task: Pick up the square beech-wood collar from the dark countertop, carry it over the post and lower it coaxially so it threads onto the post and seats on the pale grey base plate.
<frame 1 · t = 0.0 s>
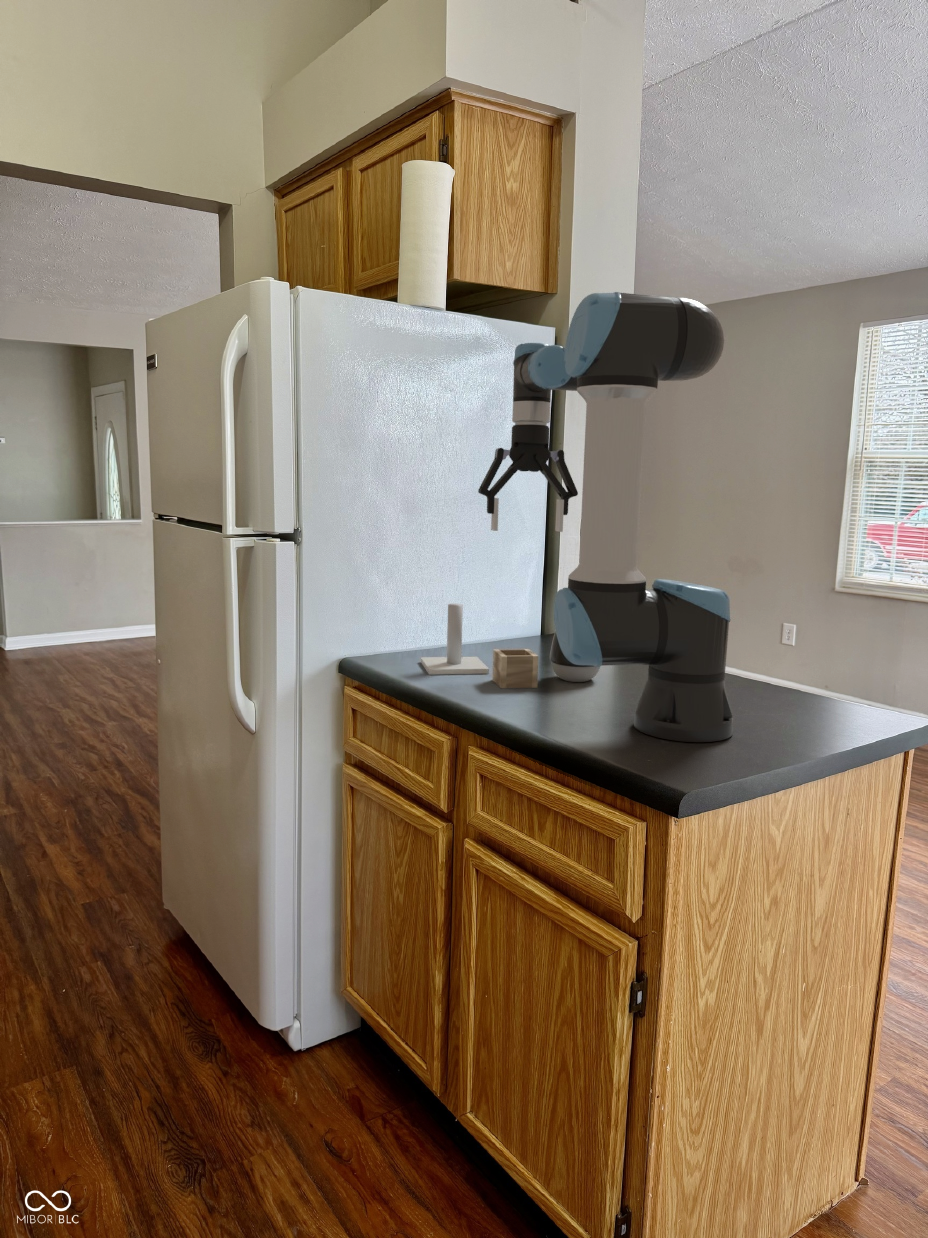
hand: (526, 531, 180), 28 cm above the counter, fingers open, 13 cm apart
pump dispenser: (575, 680, 173), on the counter
post fixture: (453, 667, 180), on the counter
collar: (514, 683, 167), on the counter
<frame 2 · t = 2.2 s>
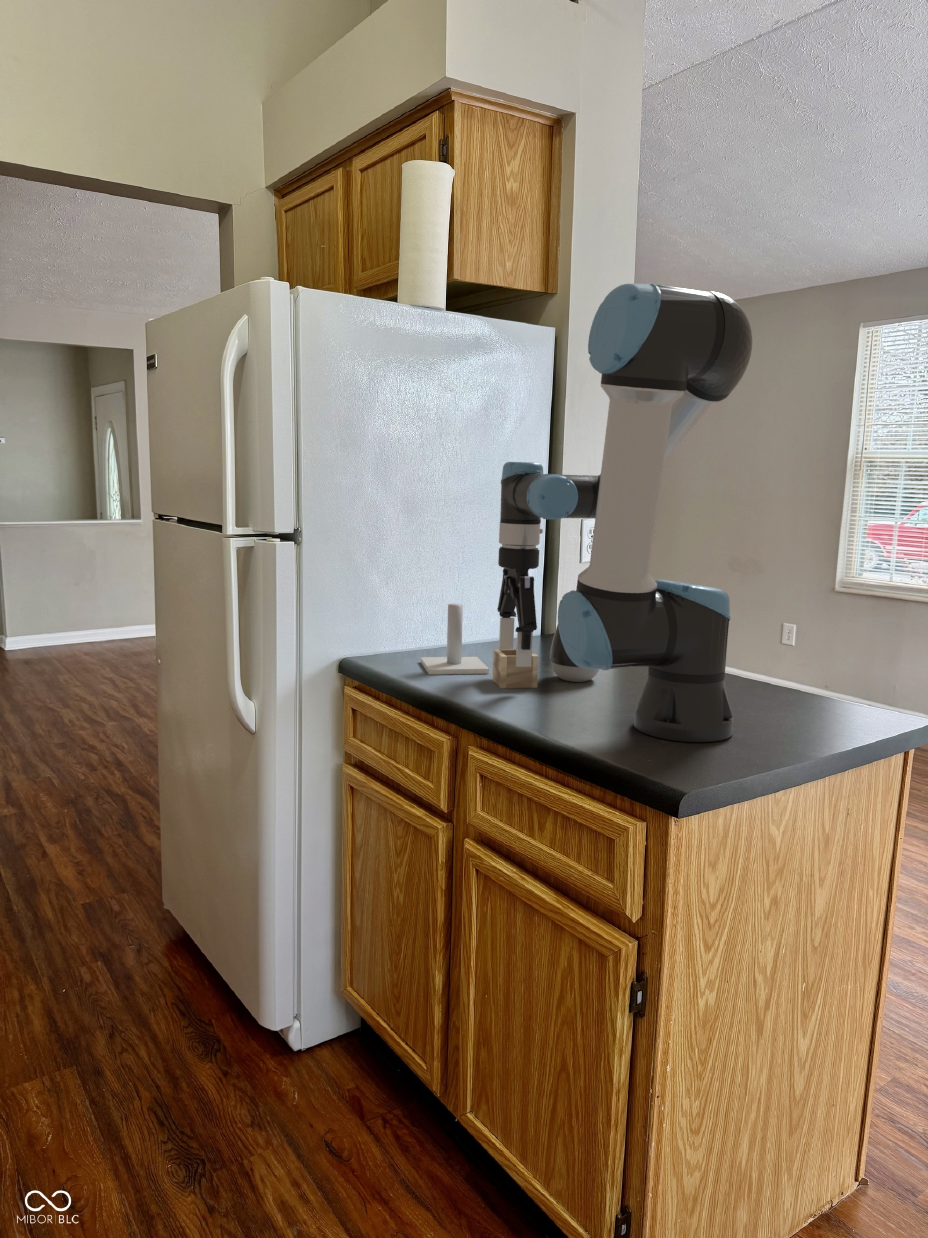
hand: (514, 658, 167), 5 cm above the counter, fingers open, 13 cm apart
nothing on the counter moved.
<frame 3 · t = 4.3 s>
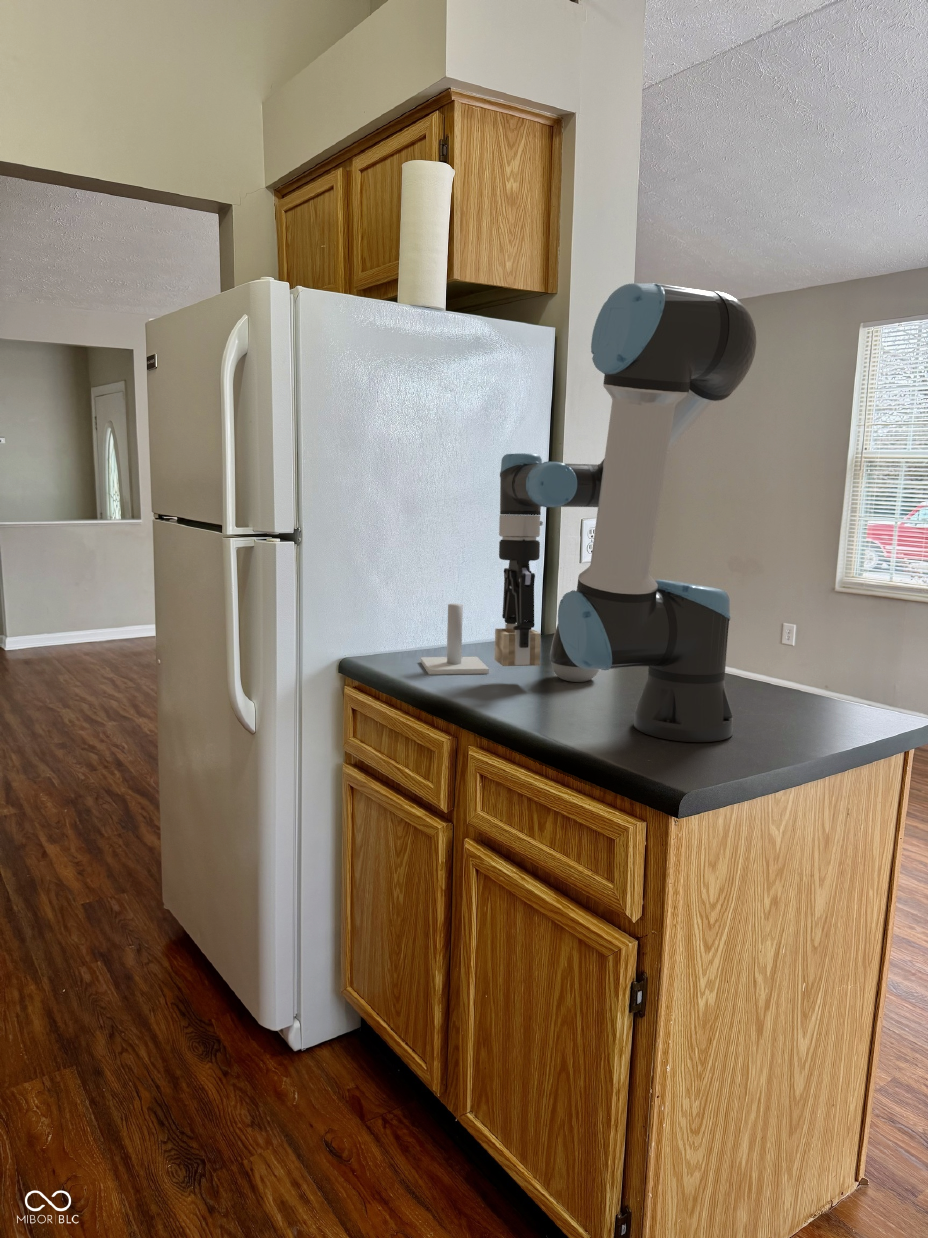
hand: (516, 660, 166), 5 cm above the counter, fingers closed on collar, 7 cm apart
collar: (516, 662, 166), point 4 cm above the counter, touching gripper
everything else where it was.
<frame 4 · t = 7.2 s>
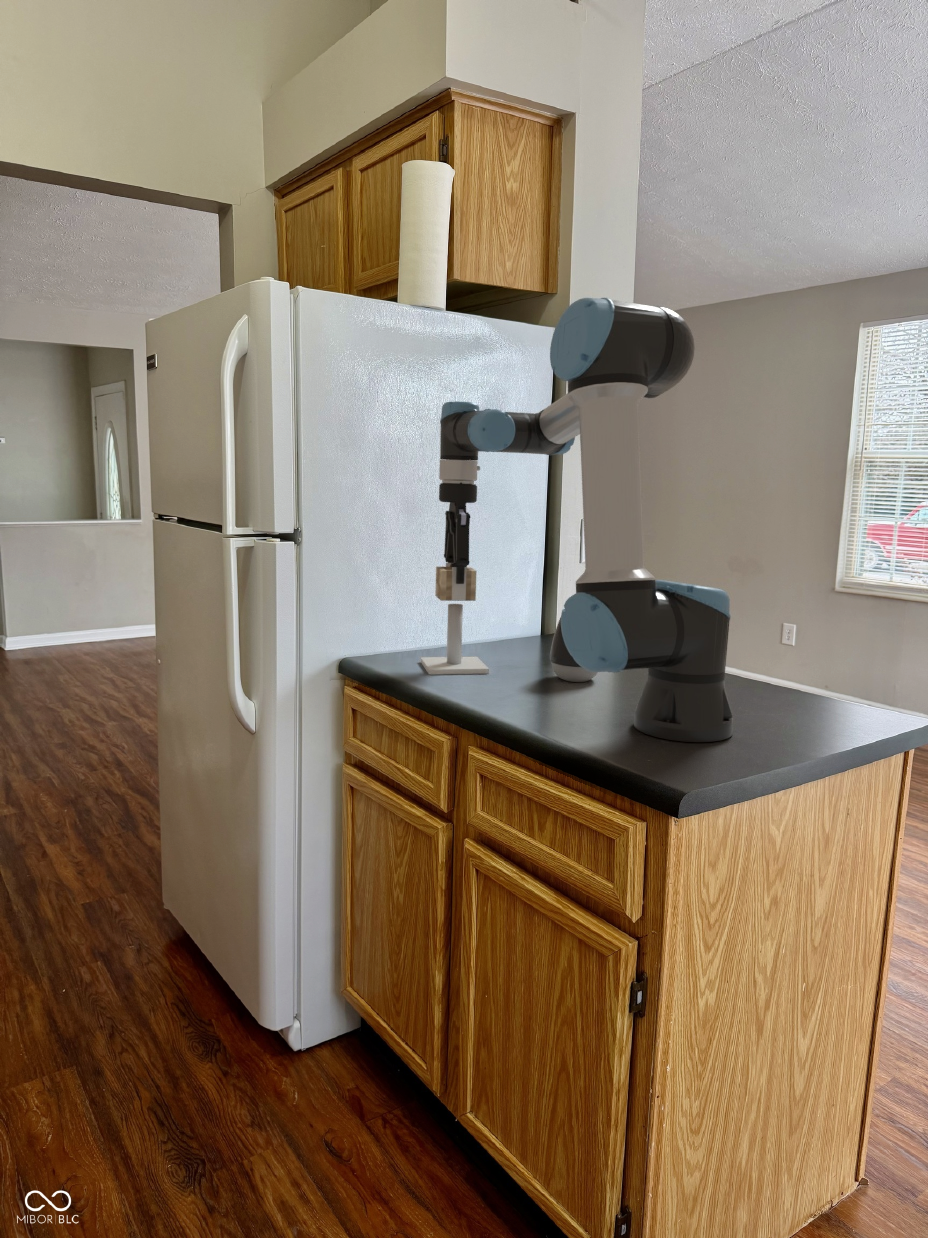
hand: (455, 597, 178), 15 cm above the counter, fingers closed on collar, 7 cm apart
collar: (455, 598, 178), point 14 cm above the counter, touching gripper
everything else where it was.
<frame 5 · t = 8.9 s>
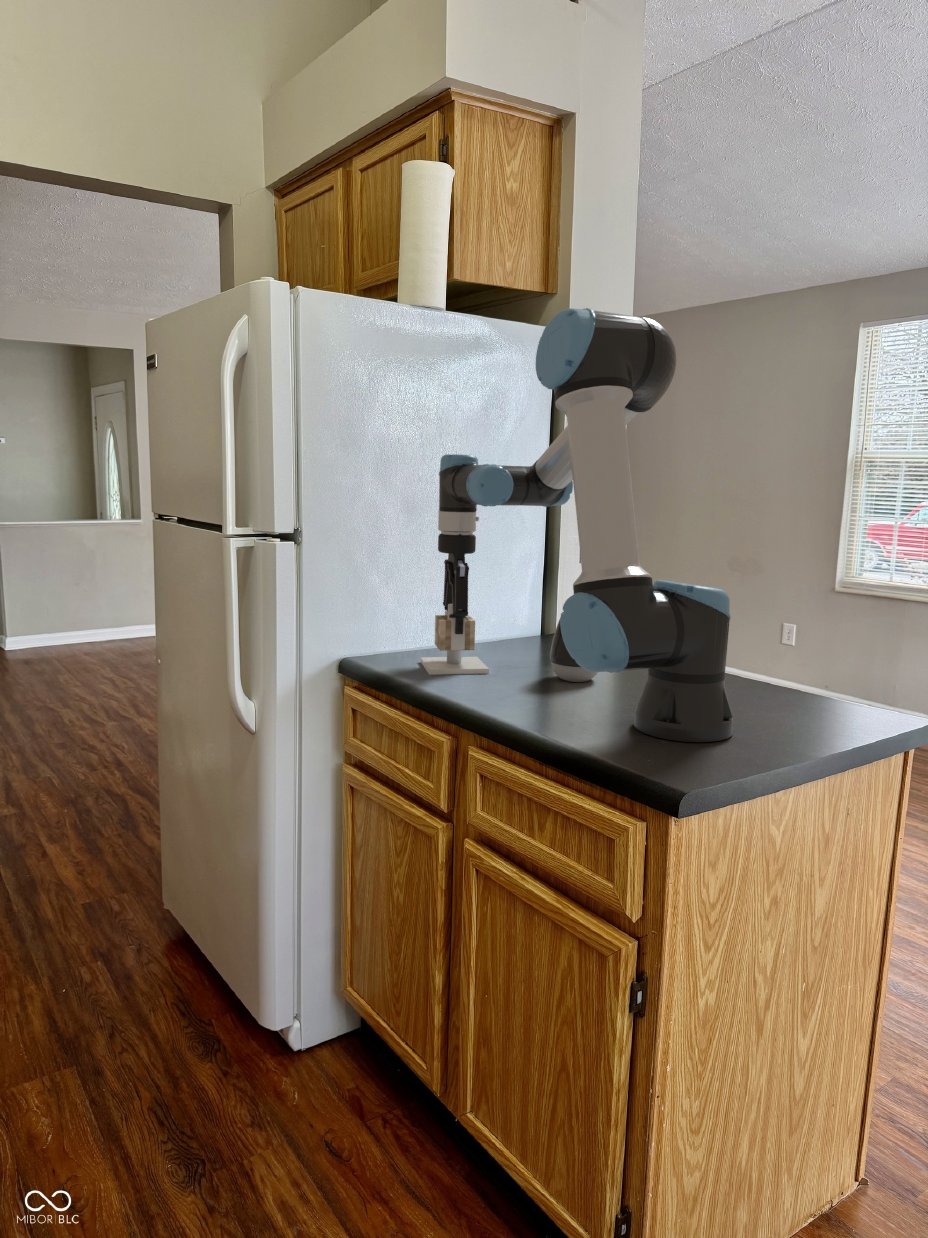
hand: (454, 645, 179), 5 cm above the counter, fingers closed on collar, 7 cm apart
collar: (454, 647, 179), point 4 cm above the counter, touching gripper
everything else where it was.
when the fingers open (3 cm above the counter, at t = 10.1 s): collar drops 1 cm, resting on post fixture.
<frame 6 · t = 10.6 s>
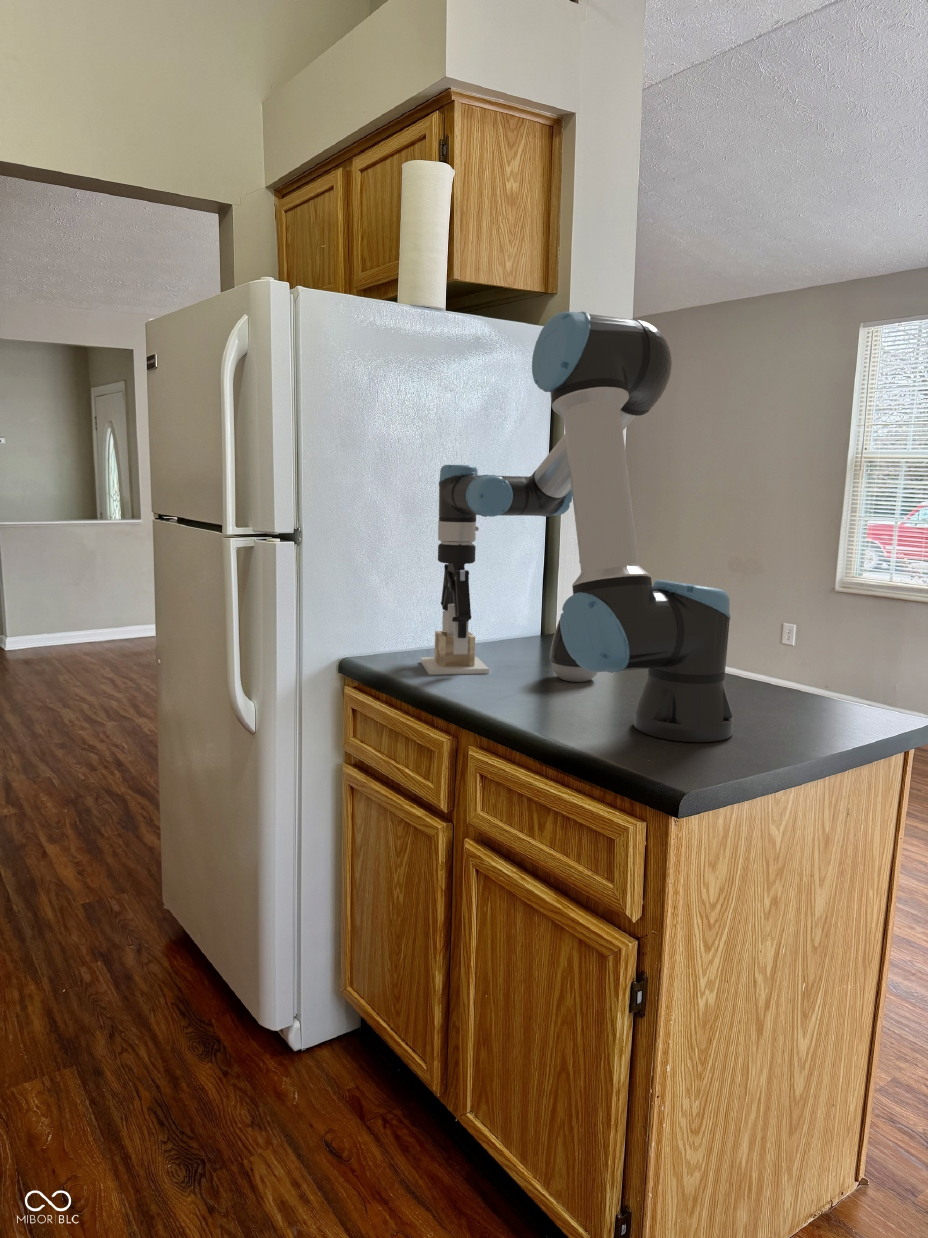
hand: (454, 647, 179), 4 cm above the counter, fingers open, 13 cm apart
collar: (454, 662, 180), point 1 cm above the counter, touching post fixture
everything else where it was.
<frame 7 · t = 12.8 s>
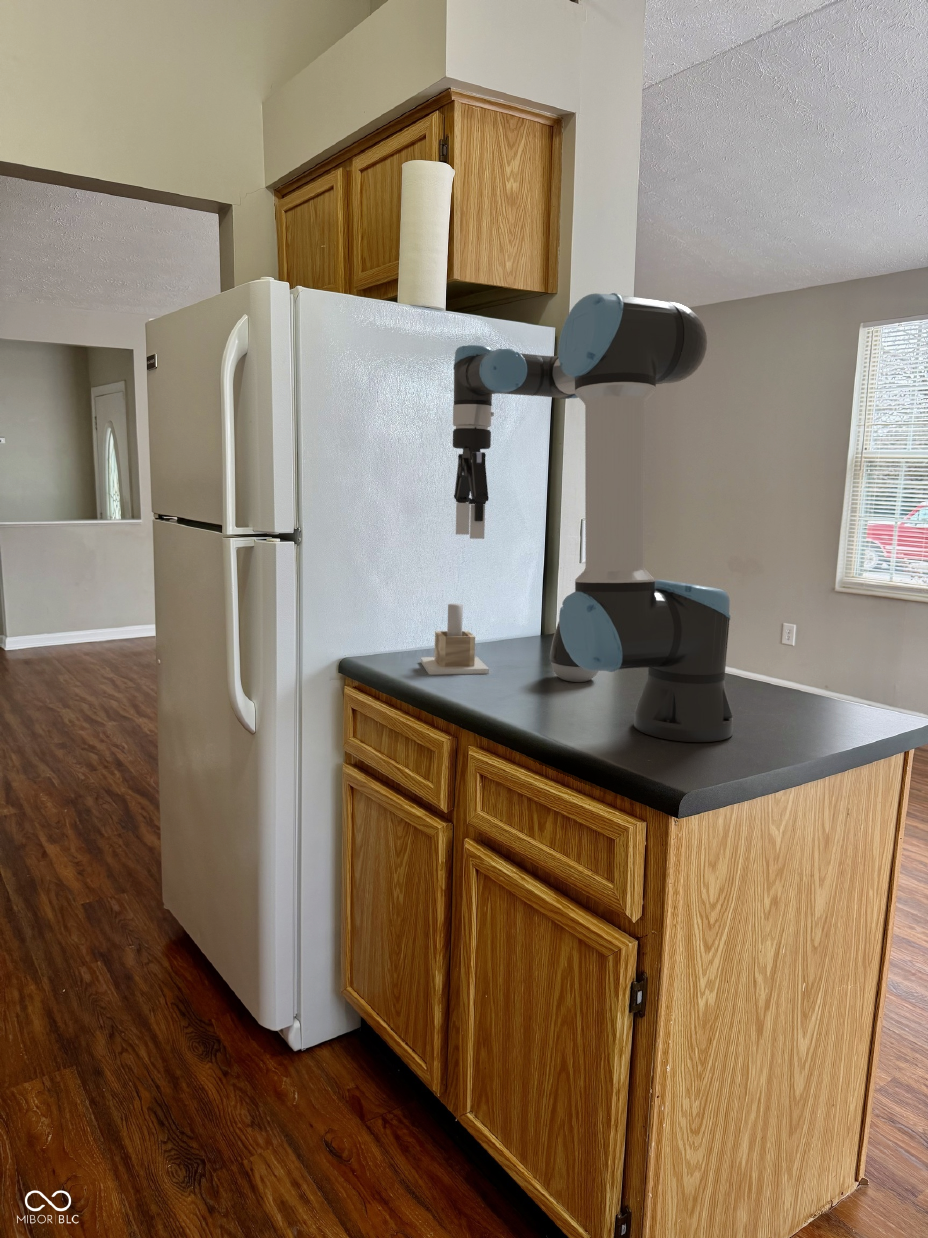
hand: (469, 536, 176), 27 cm above the counter, fingers open, 13 cm apart
nothing on the counter moved.
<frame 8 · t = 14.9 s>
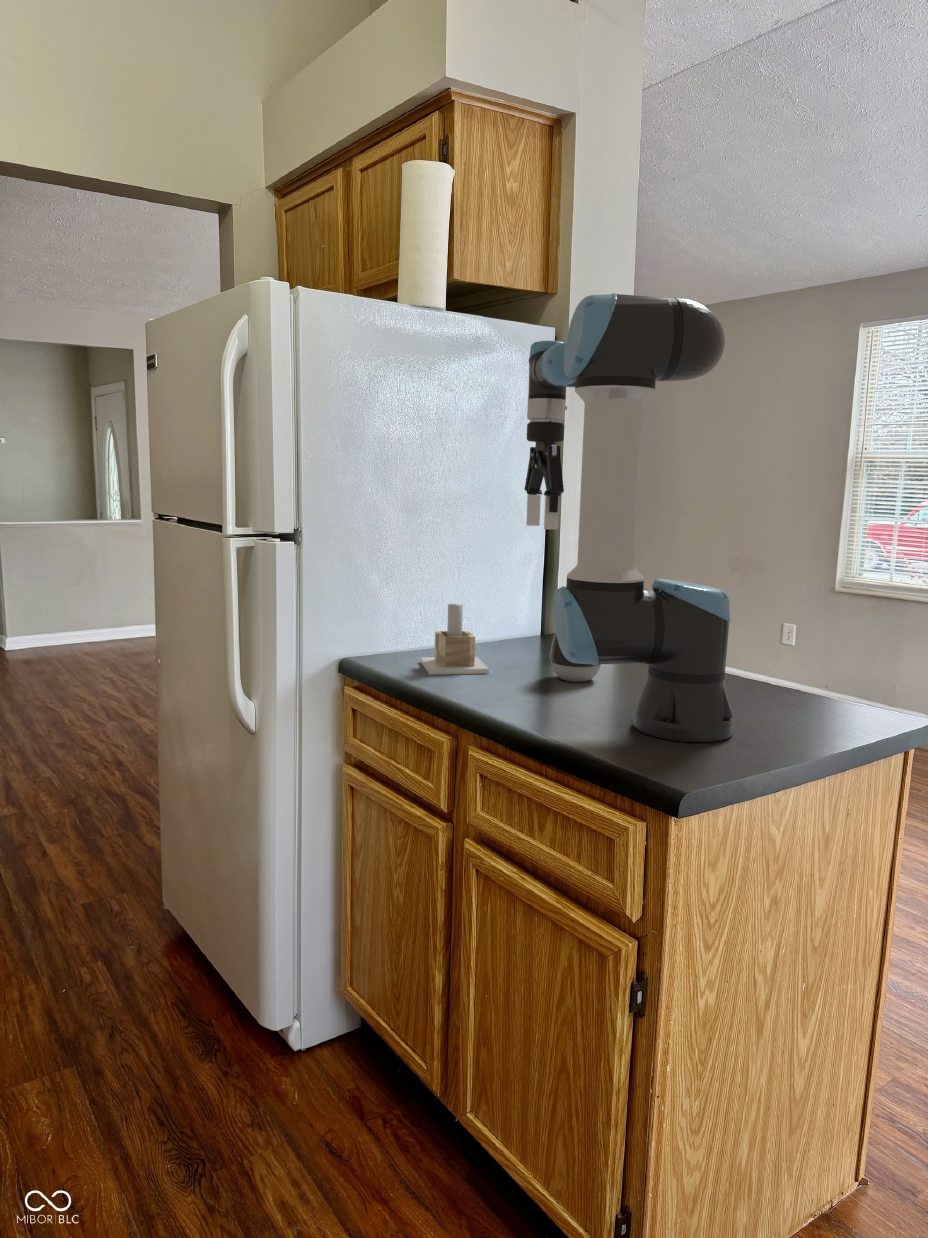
hand: (541, 527, 181), 29 cm above the counter, fingers open, 13 cm apart
nothing on the counter moved.
at the end: collar 0.0 cm from the post fixture (horizontally); collar point 1.0 cm above the counter; the gripper is holding nothing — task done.
